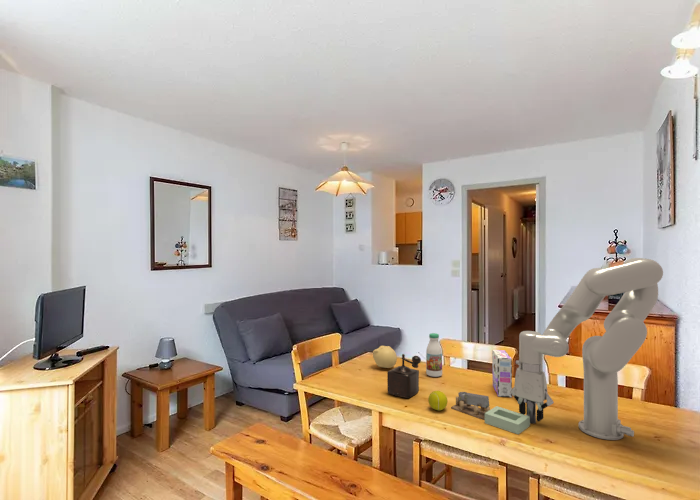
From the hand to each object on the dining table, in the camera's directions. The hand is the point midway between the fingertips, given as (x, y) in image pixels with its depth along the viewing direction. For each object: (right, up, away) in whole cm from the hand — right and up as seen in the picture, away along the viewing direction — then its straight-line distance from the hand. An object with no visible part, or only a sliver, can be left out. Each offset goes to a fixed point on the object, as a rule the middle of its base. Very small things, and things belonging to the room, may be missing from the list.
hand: (531, 417), depth 135 cm
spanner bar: (-17, +1, +8) cm, 19 cm away
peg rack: (-18, -2, +9) cm, 20 cm away
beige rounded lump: (-46, -2, +65) cm, 80 cm away
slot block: (-9, -2, -2) cm, 10 cm away
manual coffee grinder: (-40, -2, +27) cm, 48 cm away
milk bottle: (-23, -2, +52) cm, 57 cm away
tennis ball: (-31, -2, +11) cm, 33 cm away
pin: (0, -2, 0) cm, 2 cm away
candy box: (+1, -2, +30) cm, 30 cm away
